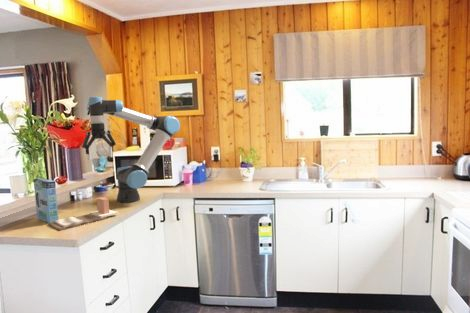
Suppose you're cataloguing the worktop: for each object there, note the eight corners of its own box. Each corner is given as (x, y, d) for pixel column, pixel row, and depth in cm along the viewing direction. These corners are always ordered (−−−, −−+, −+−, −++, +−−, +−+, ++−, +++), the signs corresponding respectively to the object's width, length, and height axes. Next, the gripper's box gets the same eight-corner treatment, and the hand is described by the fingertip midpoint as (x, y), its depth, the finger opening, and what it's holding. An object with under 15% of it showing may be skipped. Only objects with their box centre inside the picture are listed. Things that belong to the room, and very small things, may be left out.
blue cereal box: (37, 218, 211) (32, 179, 208) (46, 216, 214) (42, 177, 212) (50, 224, 197) (45, 182, 195) (59, 221, 201) (55, 180, 199)
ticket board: (93, 214, 213) (93, 211, 213) (106, 219, 202) (106, 215, 202) (48, 225, 195) (47, 221, 195) (60, 230, 184) (59, 226, 184)
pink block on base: (106, 210, 218) (104, 195, 217) (117, 213, 208) (116, 198, 207) (89, 214, 210) (88, 198, 209) (101, 217, 201) (99, 201, 200)
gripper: (113, 122, 230) (116, 155, 232) (73, 124, 212) (77, 160, 214) (119, 121, 225) (122, 156, 227) (79, 123, 207) (82, 161, 209)
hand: (100, 158), depth 221 cm, fingers open, 13 cm apart
